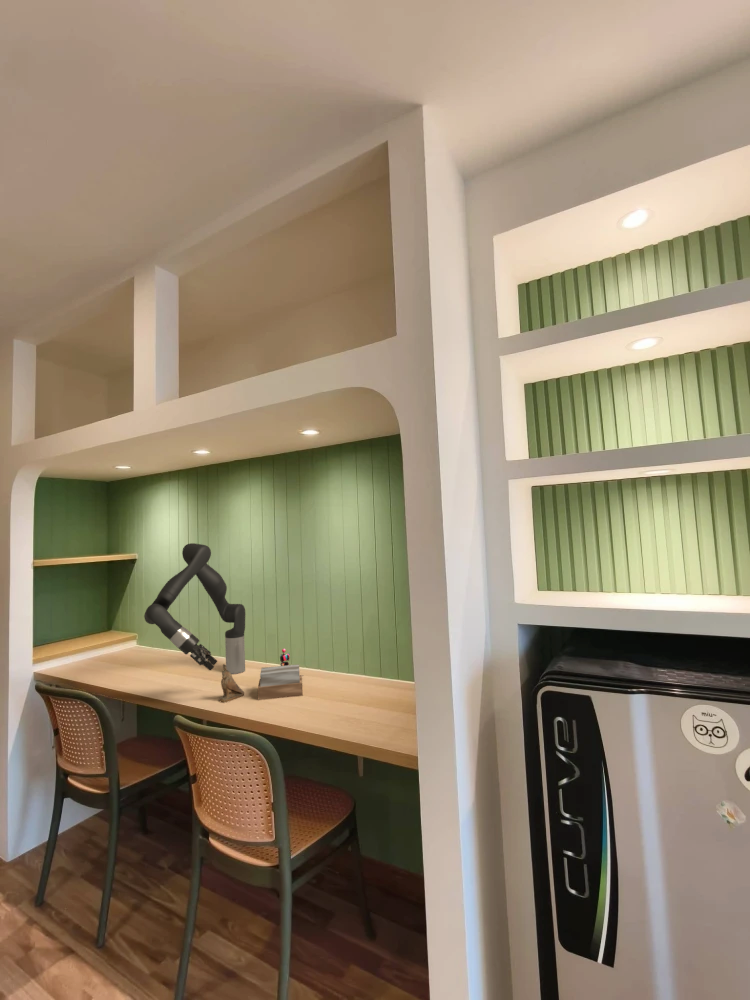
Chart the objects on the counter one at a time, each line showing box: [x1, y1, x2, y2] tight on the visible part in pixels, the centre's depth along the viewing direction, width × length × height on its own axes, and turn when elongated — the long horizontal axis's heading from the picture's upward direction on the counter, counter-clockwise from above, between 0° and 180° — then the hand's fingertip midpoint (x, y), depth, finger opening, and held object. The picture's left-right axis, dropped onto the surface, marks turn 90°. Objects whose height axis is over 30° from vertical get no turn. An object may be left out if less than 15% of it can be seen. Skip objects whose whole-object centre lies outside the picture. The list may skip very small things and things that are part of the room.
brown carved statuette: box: [218, 663, 245, 703], centre depth 203 cm, size 11×5×16 cm, turn 139°
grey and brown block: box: [257, 664, 304, 701], centre depth 207 cm, size 12×18×10 cm, turn 100°
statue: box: [279, 648, 304, 677], centre depth 225 cm, size 11×9×15 cm
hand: (214, 665), depth 203 cm, fingers open, 8 cm apart
